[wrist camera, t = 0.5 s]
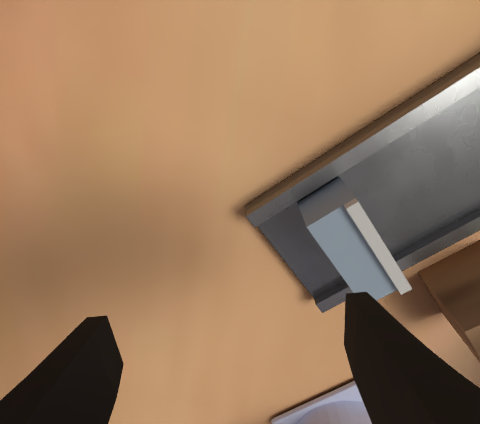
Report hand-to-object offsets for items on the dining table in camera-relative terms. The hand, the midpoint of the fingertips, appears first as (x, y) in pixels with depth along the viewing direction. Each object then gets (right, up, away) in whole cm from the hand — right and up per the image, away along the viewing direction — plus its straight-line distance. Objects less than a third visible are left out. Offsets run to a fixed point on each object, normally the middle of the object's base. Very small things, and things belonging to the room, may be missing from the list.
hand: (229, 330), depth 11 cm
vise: (+10, +6, +8) cm, 14 cm away
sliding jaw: (+6, +3, +9) cm, 11 cm away
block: (+14, 0, +11) cm, 18 cm away
